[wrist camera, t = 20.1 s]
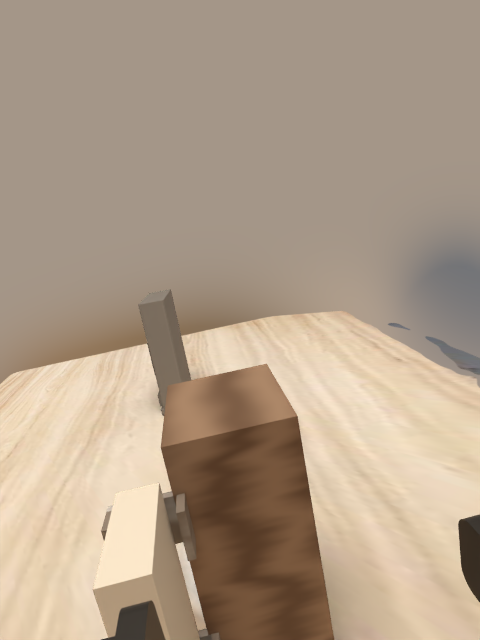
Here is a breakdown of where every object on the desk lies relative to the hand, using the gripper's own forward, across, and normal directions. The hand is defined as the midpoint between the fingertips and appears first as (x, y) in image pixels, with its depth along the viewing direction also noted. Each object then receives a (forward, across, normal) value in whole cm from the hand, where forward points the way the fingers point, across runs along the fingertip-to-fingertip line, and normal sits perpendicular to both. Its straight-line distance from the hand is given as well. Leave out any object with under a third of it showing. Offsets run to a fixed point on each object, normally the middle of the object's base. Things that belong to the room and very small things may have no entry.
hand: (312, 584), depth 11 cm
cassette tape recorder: (+84, +13, +32) cm, 91 cm away
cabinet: (+21, +4, +30) cm, 37 cm away
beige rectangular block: (+13, +9, +26) cm, 30 cm away
